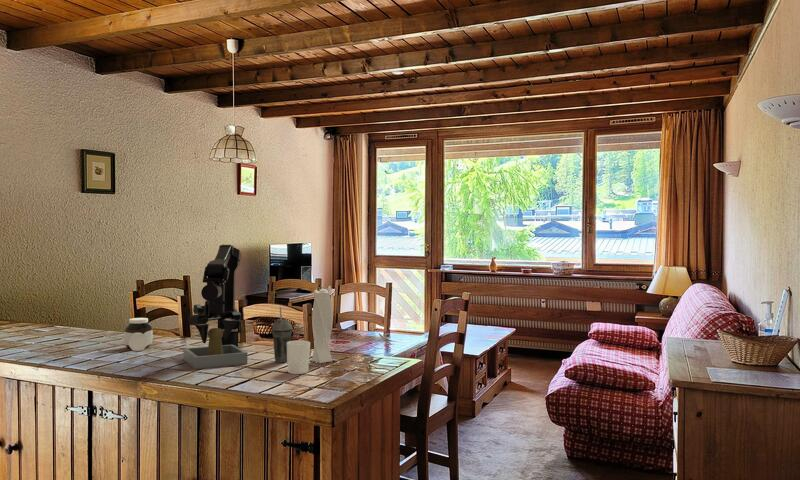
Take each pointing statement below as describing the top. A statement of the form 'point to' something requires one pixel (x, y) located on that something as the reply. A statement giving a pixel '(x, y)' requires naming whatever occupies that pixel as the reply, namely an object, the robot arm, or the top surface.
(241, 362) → the tray
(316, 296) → the grey tall twisted column
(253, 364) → the top surface
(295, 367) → the white cup
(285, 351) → the beverage cup
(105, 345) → the top surface
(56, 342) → the top surface
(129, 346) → the spread jar
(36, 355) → the top surface
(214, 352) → the olive gourd-shaped piece
